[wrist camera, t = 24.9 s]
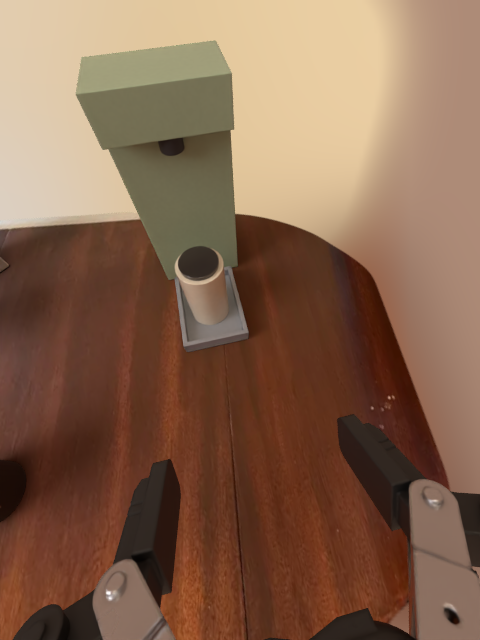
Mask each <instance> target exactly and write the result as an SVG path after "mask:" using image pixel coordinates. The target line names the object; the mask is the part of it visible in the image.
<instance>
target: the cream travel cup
mask: <svg viewBox="0 0 480 640" xmlns="http://www.w3.org/2000/svg"><path fill="white" fill-rule="evenodd" d="M175 272H176V275H177V277H178V280H179V282H180V285H181V287H182V290H183V292H184V295H185V297H186V299H187V302H188V304H189V307H190V309H191V312H192V314H193V317H194V318H195V319H196V320H197V321H198V322H199V323H201V324H204V325H214V324H217V323H219V322H221V321H223V320H224V319H225V318H226V316H227V315H228V312H229V301H228V293H227V286H226V278H225V270H224V263H223V259H222V257H221V255H220V254H219V253H218V252H217V251H216V250H214V249H212V248H209V247H205V246H195V247H192V248H189V249H187V250H186V251H184V252H183V253H182V254H181V255H180V256H179V257H178V259H177V260H176V263H175Z"/></svg>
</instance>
